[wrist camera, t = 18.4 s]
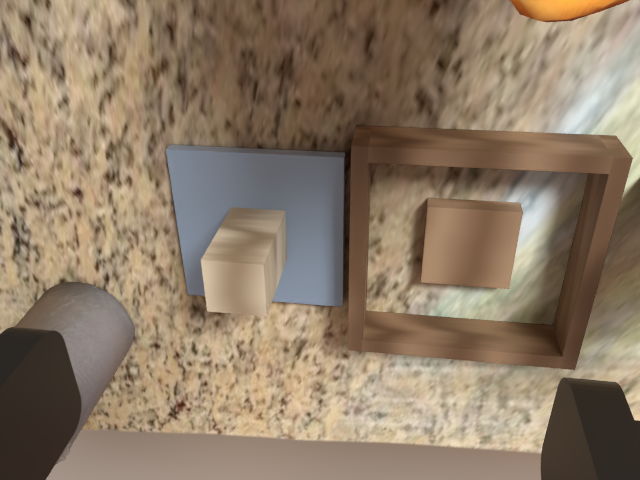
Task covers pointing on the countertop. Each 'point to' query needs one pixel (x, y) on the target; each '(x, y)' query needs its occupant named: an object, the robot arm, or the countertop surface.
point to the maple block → (245, 261)
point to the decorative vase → (562, 8)
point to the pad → (265, 193)
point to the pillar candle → (85, 337)
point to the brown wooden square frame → (484, 242)
